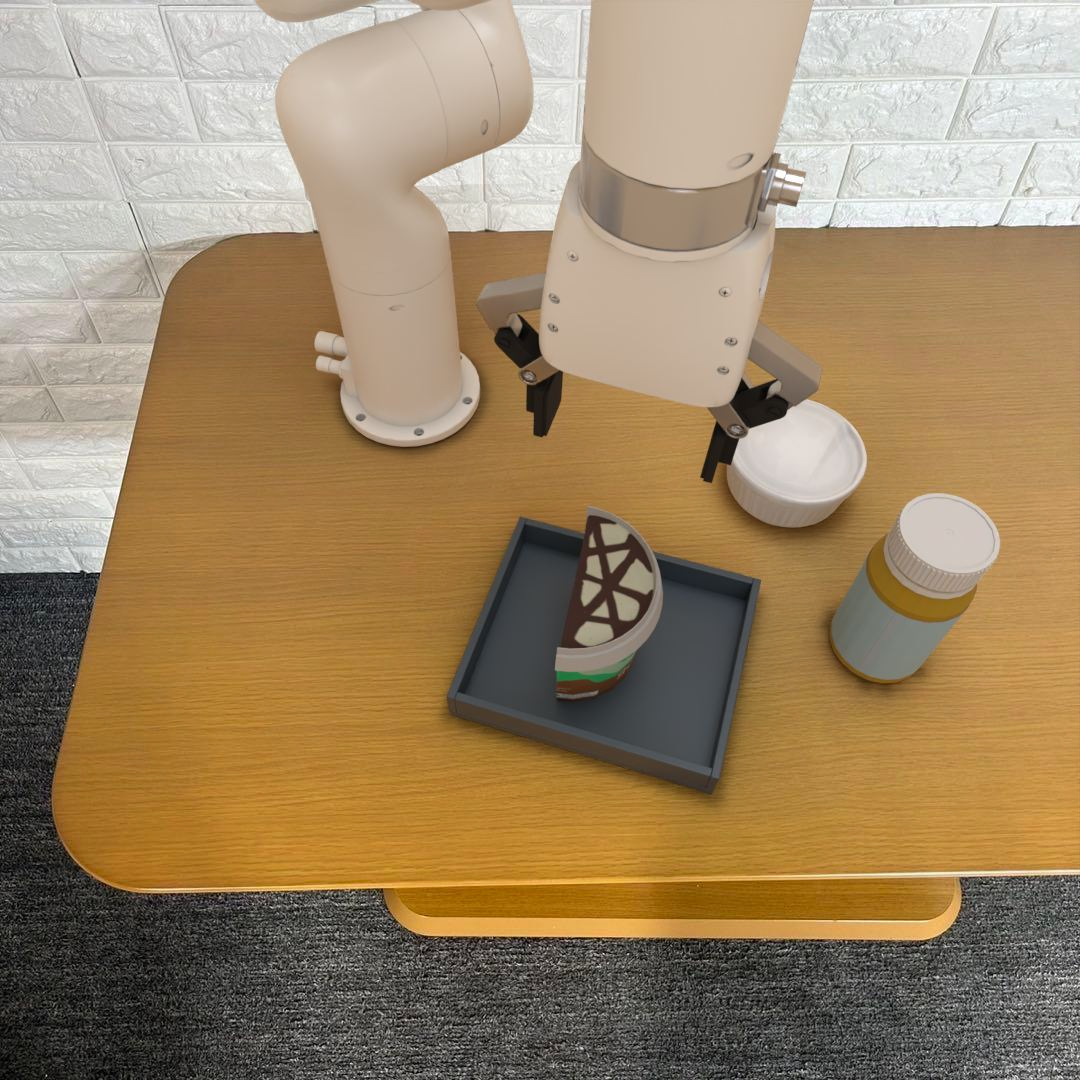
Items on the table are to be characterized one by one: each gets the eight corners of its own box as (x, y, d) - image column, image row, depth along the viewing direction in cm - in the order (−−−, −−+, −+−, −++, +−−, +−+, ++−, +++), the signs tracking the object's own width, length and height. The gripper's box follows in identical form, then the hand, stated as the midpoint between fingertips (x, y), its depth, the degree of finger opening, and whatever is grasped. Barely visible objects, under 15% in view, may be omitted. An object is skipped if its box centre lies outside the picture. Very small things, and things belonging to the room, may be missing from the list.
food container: (637, 736, 63) (654, 674, 55) (552, 719, 64) (555, 655, 56) (659, 589, 70) (677, 514, 62) (582, 575, 71) (588, 499, 62)
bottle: (902, 703, 65) (989, 598, 53) (812, 657, 67) (875, 546, 55) (933, 632, 69) (1021, 517, 56) (846, 590, 71) (913, 471, 58)
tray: (449, 714, 65) (446, 696, 62) (520, 538, 73) (519, 515, 71) (711, 794, 62) (719, 779, 59) (753, 600, 70) (761, 579, 68)
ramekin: (860, 541, 73) (880, 503, 69) (723, 539, 73) (735, 501, 69) (836, 437, 80) (854, 396, 75) (710, 435, 80) (720, 394, 75)
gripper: (896, 164, 37) (790, 431, 52) (502, 82, 40) (506, 358, 54) (874, 281, 33) (766, 534, 48) (439, 181, 36) (461, 450, 50)
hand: (628, 440), depth 51 cm, fingers open, 9 cm apart
